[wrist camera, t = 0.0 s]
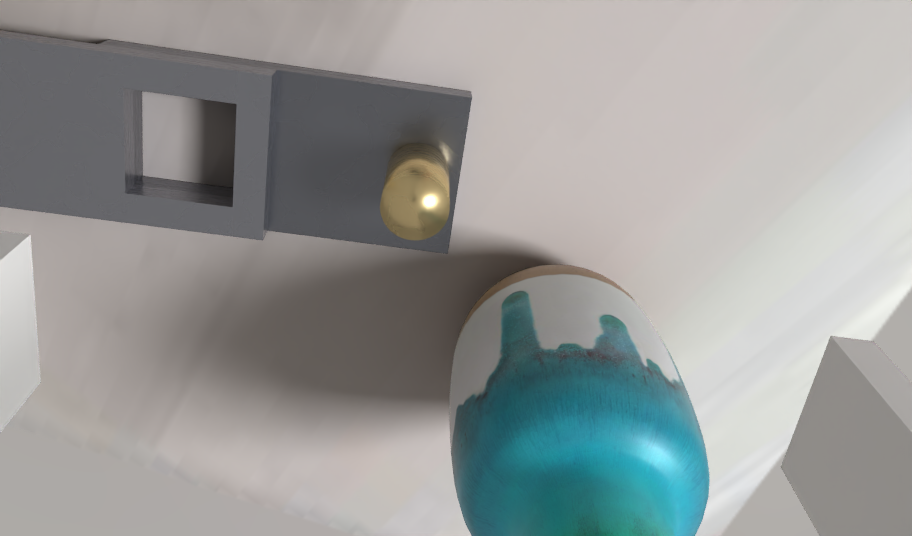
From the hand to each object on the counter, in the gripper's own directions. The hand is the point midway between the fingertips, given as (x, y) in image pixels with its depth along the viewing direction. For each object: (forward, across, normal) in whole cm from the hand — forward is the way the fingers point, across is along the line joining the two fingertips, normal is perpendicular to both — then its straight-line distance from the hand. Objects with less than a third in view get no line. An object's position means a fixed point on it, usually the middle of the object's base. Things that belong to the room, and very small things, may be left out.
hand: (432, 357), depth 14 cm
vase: (+28, +8, -14) cm, 32 cm away
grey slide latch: (+28, -11, -6) cm, 31 cm away
